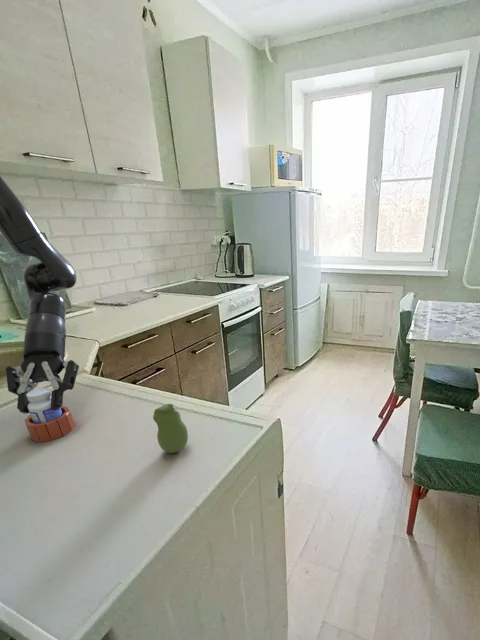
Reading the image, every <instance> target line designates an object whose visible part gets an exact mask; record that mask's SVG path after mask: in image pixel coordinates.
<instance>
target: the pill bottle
mask: <svg viewBox="0 0 480 640" xmlns="http://www.w3.org/2000/svg"><path fill="white" fill-rule="evenodd" d="M26 396H27V398H28V400H29V402H30V403H29V404H28V410H29V413H28V414H29V416H30V415H31V417H32V419H33V422H34V424H39V423H46V422H49V421H52V420H55V419H57V418H58V417H60V416H62V415H63V413H62V411H61V408H60V409H59V410H54V409H52V408H51V391H50V390H49V388H48V387H39V388H34V389H33V390H32V391H30V392H28V393H27V394H26Z"/></svg>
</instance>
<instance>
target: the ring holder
mask: <svg viewBox="0 0 480 640" xmlns="http://www.w3.org/2000/svg"><path fill="white" fill-rule="evenodd" d="M60 408H61V411H62V413H63V415H62V416H60V417H58V418H57V419H55V420H52V421H49V422H46V423H39V424H34V422H33V419H32V417H31V415H30V414H29V415H28V416H27V417H26V418H25V419H24V424H25V426H26V428H27V431H28V433H29V435H30V437H31V439H32V441H34V442H38V443H44V442H49V441H51V442H52V441H54V440H56V439H59V438H62V437H64V436H66V435H68V434H69V433H70V432H72V431H73V430H74V428H75V427H76V423H75V421H74V418H73V415H72V413H71V410H70V408H69V407H68V406H65V405H62V406H61V407H60Z"/></svg>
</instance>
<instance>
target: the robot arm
mask: <svg viewBox="0 0 480 640" xmlns="http://www.w3.org/2000/svg"><path fill="white" fill-rule="evenodd" d="M0 234H1V236H2V237H3V239H4V240H5V242H6V243H7V244H8V245H9V248H11V250H12V251H13V252H14V253H15V254H16V255H18V256H23V257H31V258H36V259H37V260H38V262H33V263H31V264H28V265H27V266H26V267H25V269H24V271H23V275H22V278H23V283H24V285H25V289H26V294H27V297H28V301H29V305H28V313H27V314H28V316H27V321H26V323H25V331H24V340H23V349H22V355H23V356H22V357H23V360H22V362H21V363H20V365H18V366H15V367H12V366H10V365H8V366H6V367H5V375H6V384H7V391H8V392H9V393H12V394H13V395H15V396H17V402H16V403H17V405H16V408H17V410H19V412H20V413H21V414H30V413H29V410H28V404H29V403H30V402H29V400H28V398H27V396H26V394H27V393H28V392H30V391H32V390H34V389H37V387H38V385H39V384H40V383H44V382H49V383H50V385H51V388H52V390H51V392H50V394H51V395H50V396H51V408H52V409H54V410H59V409H60V407H61V406H63V404H64V403H63V402H64V401H63V400H64V393H65V392H66V391H68V390H70V391H71V390H73V389H74V387H75V384H76V381H77V380H76V379H77V375H78V372H79V368H80V365H79V364H78V363H76V361H74V360H73V359H70V360H68V361H65V356H66V355H65V354H66V340H67V339H66V338H67V327H66V318H67V304H66V300H64V298H63V297H62V296H60V295H58V294H55V292H60V291H65V290H69V289H71V288H74V287H75V285H76V284H77V273H76V271H75V268H74V267H73V265H72V264H71V263H70V261H68V260H67V259H66V258H65V257H64V256H63V254H62V253H60V251H59V250H58V249H56V248H55V246H54V245H53V244H51V242H49V240H48V239H47V238H46V237H45V236H44V234H43V232H42V230H41V229H40V228H39V226H38V224H37V223H36V221H35V220H34V218H33V217H32V215H31V213H30V212H29V211H28V209H27V208H26V206H25V205H24V203H23V202H22V201H21V200H20V198H19V197H18V196H17V194H16V193H15V192H14V191H13V189H11V187H10V186H9V185H8V183H7V182H6V181H5V179H4V178H3V176H2V175H1V174H0ZM64 370H65V371H64ZM62 371H64V375H63V378H61V375H60V373H62ZM23 373H24V374H23ZM22 374H23V375H22Z"/></svg>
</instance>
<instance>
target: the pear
mask: <svg viewBox="0 0 480 640" xmlns="http://www.w3.org/2000/svg"><path fill="white" fill-rule="evenodd" d="M152 419H153V421H154V423H156V427H157V437H156V439H157V442H158V445H159V447H160V448H161V450H162V451H164V452H166V453H169V454H176V453H179V452H181V451H182V450H183V449H185V447H186V446H187V444H188V441H189V440H188V439H189V433H188V429H187V425H186V424H185V422H184V421H183V420H182V418H181V414H180V412H179V411H178V410H177V409H176V407H175V405H174V404H173V403H166V404H164V405H161V406H160V407H158V408H155V409H154V411H153V416H152Z"/></svg>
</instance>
